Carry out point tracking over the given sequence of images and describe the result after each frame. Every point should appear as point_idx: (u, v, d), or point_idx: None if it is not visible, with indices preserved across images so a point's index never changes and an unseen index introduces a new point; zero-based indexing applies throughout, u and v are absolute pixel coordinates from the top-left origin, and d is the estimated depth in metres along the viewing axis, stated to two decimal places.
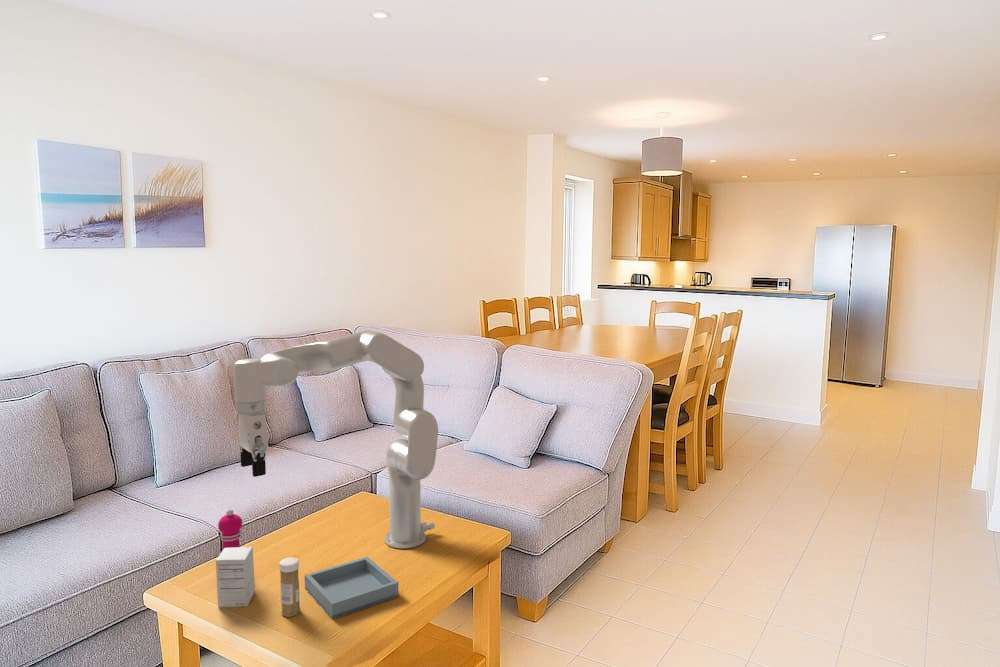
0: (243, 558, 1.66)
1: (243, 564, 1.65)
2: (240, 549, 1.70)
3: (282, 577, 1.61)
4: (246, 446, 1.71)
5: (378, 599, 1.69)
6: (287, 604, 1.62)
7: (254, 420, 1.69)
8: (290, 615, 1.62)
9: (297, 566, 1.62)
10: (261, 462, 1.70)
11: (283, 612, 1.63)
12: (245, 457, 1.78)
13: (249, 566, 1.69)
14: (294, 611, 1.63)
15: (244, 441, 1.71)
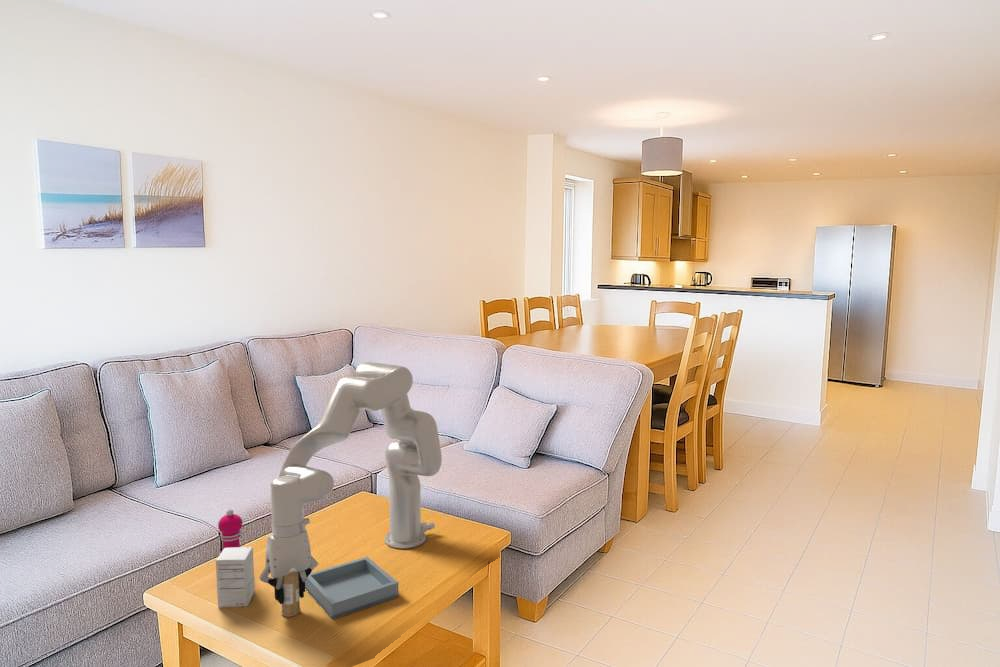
0: (243, 558, 1.66)
1: (243, 564, 1.65)
2: (240, 549, 1.70)
3: None
4: (302, 565, 1.63)
5: (378, 599, 1.69)
6: (287, 604, 1.62)
7: (307, 534, 1.64)
8: (290, 615, 1.62)
9: None
10: None
11: (283, 612, 1.63)
12: None
13: (249, 566, 1.69)
14: (294, 611, 1.63)
15: (297, 563, 1.62)
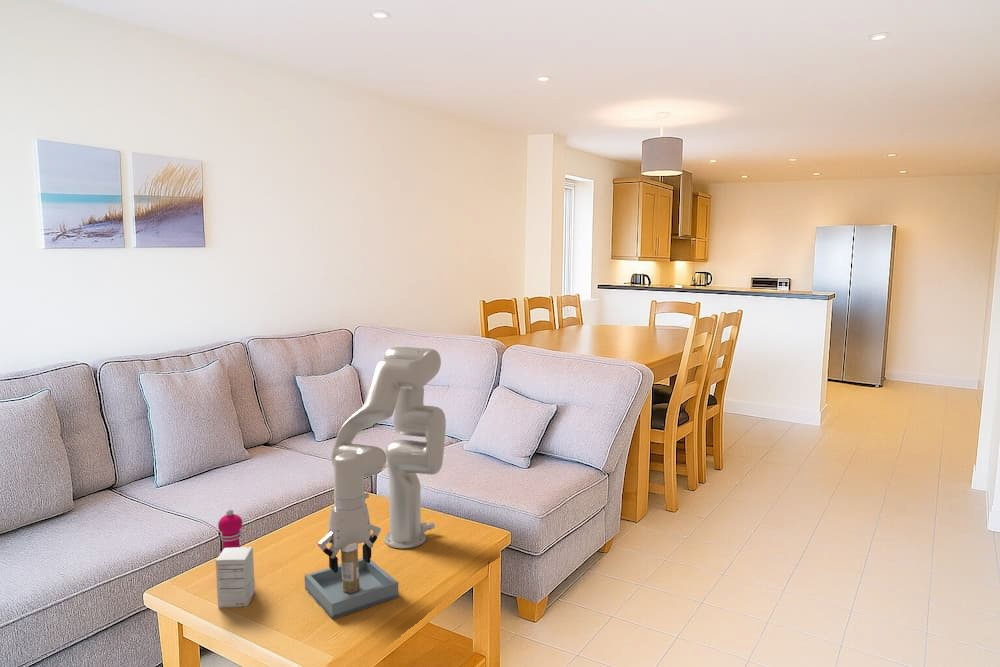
0: (243, 558, 1.66)
1: (243, 564, 1.65)
2: (240, 549, 1.70)
3: (343, 556, 1.70)
4: (362, 537, 1.72)
5: (378, 599, 1.69)
6: (348, 581, 1.71)
7: None
8: (351, 591, 1.72)
9: (357, 546, 1.71)
10: None
11: (344, 589, 1.72)
12: None
13: (249, 566, 1.69)
14: (355, 588, 1.72)
15: (358, 535, 1.71)
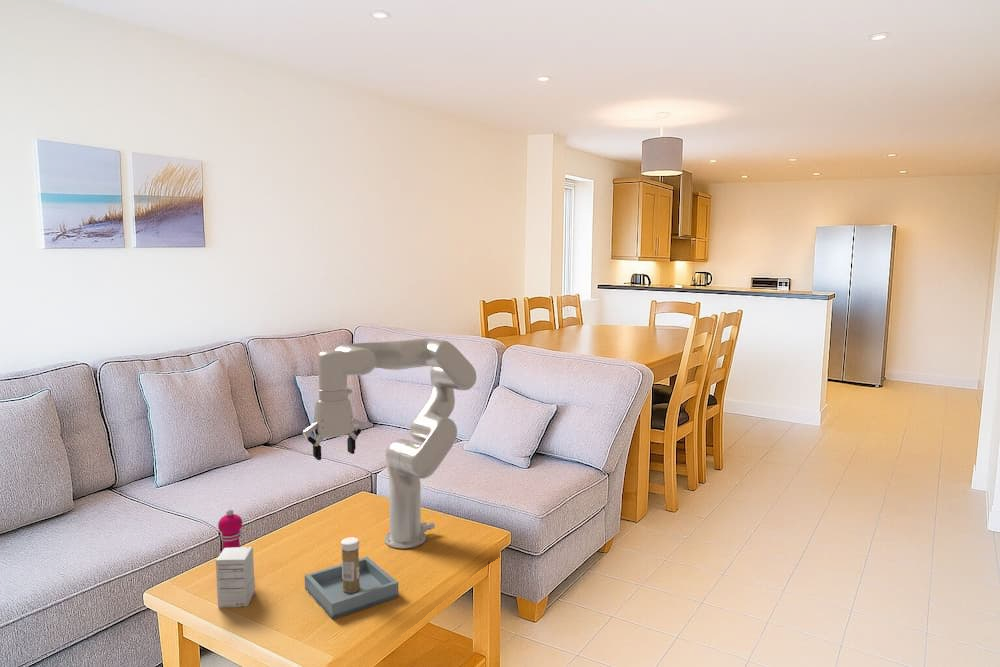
0: (243, 558, 1.66)
1: (243, 564, 1.65)
2: (240, 549, 1.70)
3: (344, 555, 1.71)
4: (346, 429, 1.83)
5: (378, 599, 1.69)
6: (349, 581, 1.71)
7: None
8: (351, 591, 1.72)
9: (358, 545, 1.72)
10: None
11: (344, 589, 1.72)
12: None
13: (249, 566, 1.69)
14: (355, 588, 1.72)
15: (342, 426, 1.82)
